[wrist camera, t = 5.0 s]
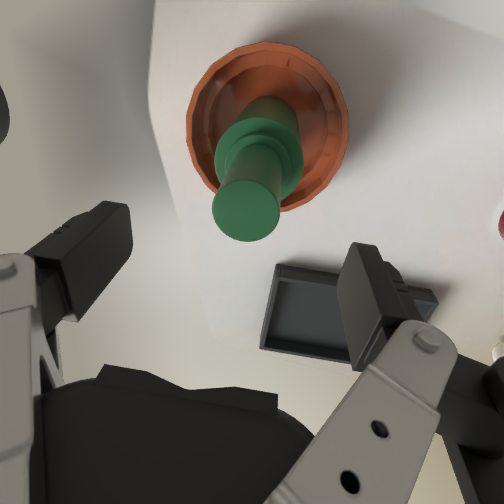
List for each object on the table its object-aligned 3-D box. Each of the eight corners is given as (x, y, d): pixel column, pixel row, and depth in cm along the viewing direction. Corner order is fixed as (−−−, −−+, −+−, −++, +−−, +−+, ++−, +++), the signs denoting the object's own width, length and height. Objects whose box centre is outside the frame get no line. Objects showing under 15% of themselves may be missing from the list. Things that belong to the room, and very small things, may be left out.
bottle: (235, 154, 30) (182, 254, 15) (241, 91, 26) (182, 136, 12) (291, 163, 29) (295, 273, 15) (304, 100, 26) (325, 159, 12)
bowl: (198, 182, 32) (185, 201, 28) (203, 33, 25) (186, 29, 21) (319, 201, 32) (323, 223, 28) (358, 57, 25) (372, 58, 21)
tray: (260, 335, 44) (259, 349, 42) (275, 264, 37) (275, 276, 35) (389, 357, 44) (394, 371, 42) (431, 289, 37) (439, 303, 35)
